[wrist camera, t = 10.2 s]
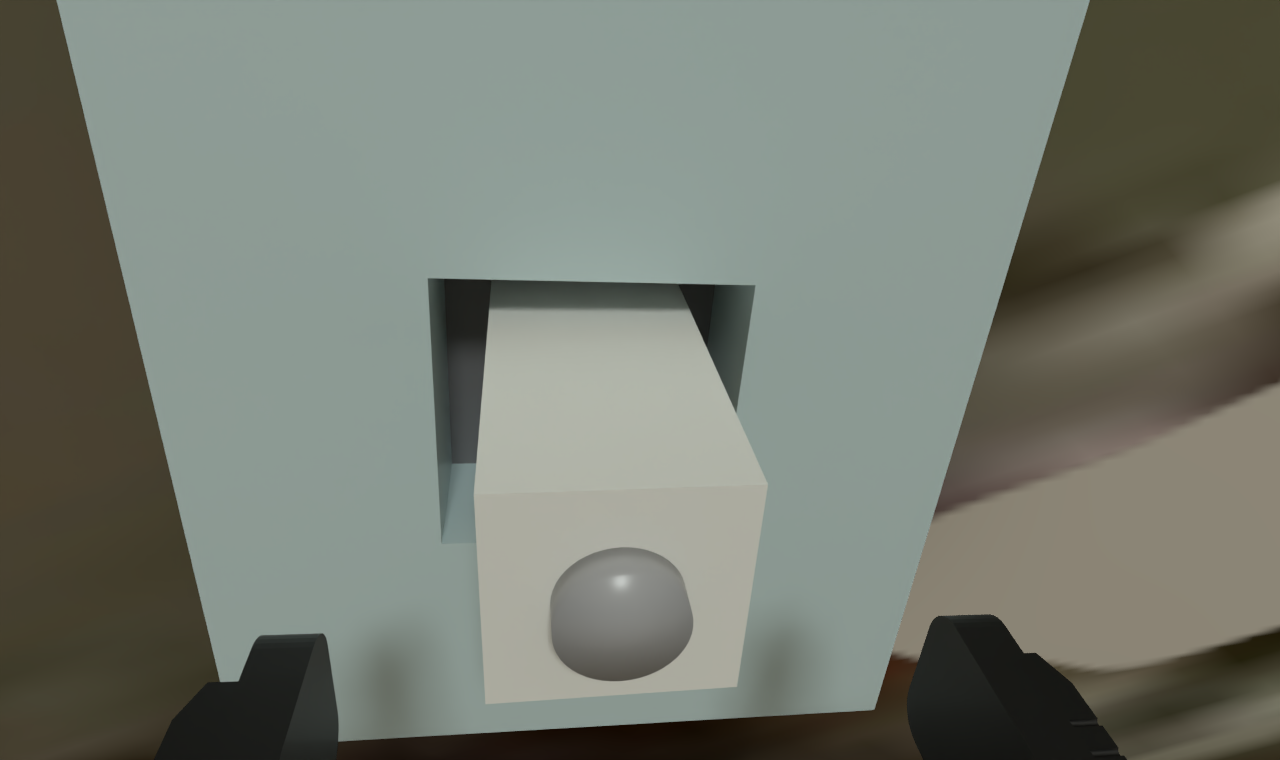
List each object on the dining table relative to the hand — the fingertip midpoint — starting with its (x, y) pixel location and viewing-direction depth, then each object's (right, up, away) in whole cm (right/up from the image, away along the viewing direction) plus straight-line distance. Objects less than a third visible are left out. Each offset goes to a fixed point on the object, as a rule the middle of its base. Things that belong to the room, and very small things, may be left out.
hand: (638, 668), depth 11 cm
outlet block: (-1, +5, +9) cm, 10 cm away
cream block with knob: (-1, +4, +8) cm, 9 cm away
